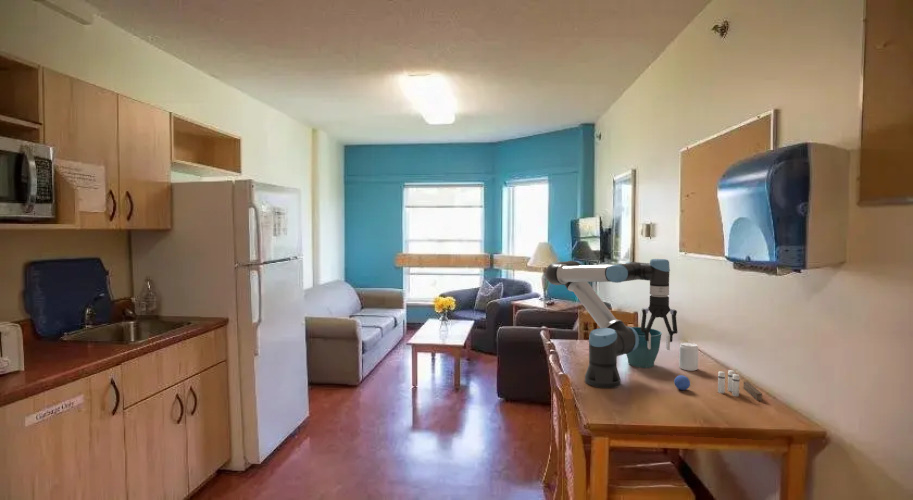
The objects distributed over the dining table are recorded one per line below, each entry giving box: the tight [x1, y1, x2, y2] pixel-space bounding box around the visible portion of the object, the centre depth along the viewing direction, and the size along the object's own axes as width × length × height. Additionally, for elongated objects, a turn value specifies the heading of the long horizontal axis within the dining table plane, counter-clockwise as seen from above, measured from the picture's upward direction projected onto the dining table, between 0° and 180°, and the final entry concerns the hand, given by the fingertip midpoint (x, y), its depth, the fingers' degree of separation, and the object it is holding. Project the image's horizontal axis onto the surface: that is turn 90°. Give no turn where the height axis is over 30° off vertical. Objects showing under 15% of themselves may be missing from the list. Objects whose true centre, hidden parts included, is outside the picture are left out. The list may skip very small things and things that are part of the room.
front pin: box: [717, 370, 726, 394], centre depth 185 cm, size 2×2×8 cm
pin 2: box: [731, 373, 740, 398], centre depth 182 cm, size 2×2×8 cm
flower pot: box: [625, 326, 663, 369], centre depth 222 cm, size 18×18×17 cm
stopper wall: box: [742, 380, 763, 402], centre depth 183 cm, size 2×14×3 cm, turn 166°
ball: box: [673, 374, 691, 391], centre depth 189 cm, size 6×6×6 cm
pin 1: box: [727, 369, 736, 393], centre depth 187 cm, size 2×2×8 cm
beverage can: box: [678, 341, 699, 372], centre depth 215 cm, size 8×8×12 cm
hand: (658, 348), depth 190 cm, fingers open, 7 cm apart
